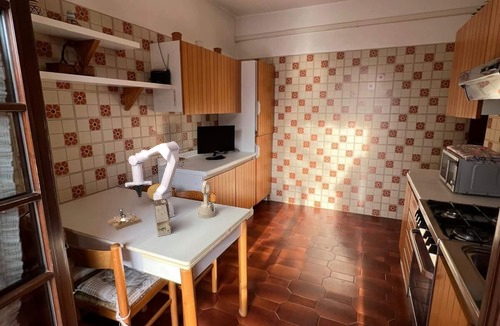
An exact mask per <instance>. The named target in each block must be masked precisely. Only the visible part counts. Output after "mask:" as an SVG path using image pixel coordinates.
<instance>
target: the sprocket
mask: <svg viewBox="0 0 500 326" xmlns="http://www.w3.org/2000/svg"><path fill="white" fill-rule="evenodd" d="M130 213H131V212H127V213H124V210H123V208H119V215H117V216H115V215H114V216H113V218H114V219H113V218H112V219H113V222H118V219H120V223H123V222H126V223H127V222H128V221H130V220H133V219H134V216H135V214H134V213H131V214H130ZM118 224H119V223H118Z"/></svg>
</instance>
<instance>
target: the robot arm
mask: <svg viewBox="0 0 500 326" xmlns="http://www.w3.org/2000/svg"><path fill="white" fill-rule="evenodd" d="M179 153H180V147H179V145H178V143H177V142H176V141H169V142H166V143H164V142H163V143H160V144H157V145H156V146H154V147H152V148H150V149H149V150H148V149H142V150H141V151H139V152H136V153H135V154H134V155H130V156H129V157H128V163H129V165H131V174H132V181H129V182H125V183H124V185H125V187H126V188H127V187H133V189H134V191H135V192H136V194H137V197H138V198H142V195H143V189H144V186H149V185H150V186H151V185H153V180H144V172H143V166H144V162H147V161H148V160H150V159H151V158H152V156H153V155H156V154H160V155H161V156H162V157H163V159H165V160H166V161H167V163H166V167H165V170H164V172H163V175H162V178H161V182H160V184H161V185H160V186H159V188H158V189H157V190H156V192H155V193H154V194H153V199H154V200H159V199H167V201H168V204H169V216H170V218H173V217H175V216H176V214H175V212H174V205H173V203H171V198H172V196H173V188H172V183H173V180H174V177H175V174H176V171H177V168H178V165H179V161H180V157H179ZM154 200H153V201H154Z"/></svg>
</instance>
